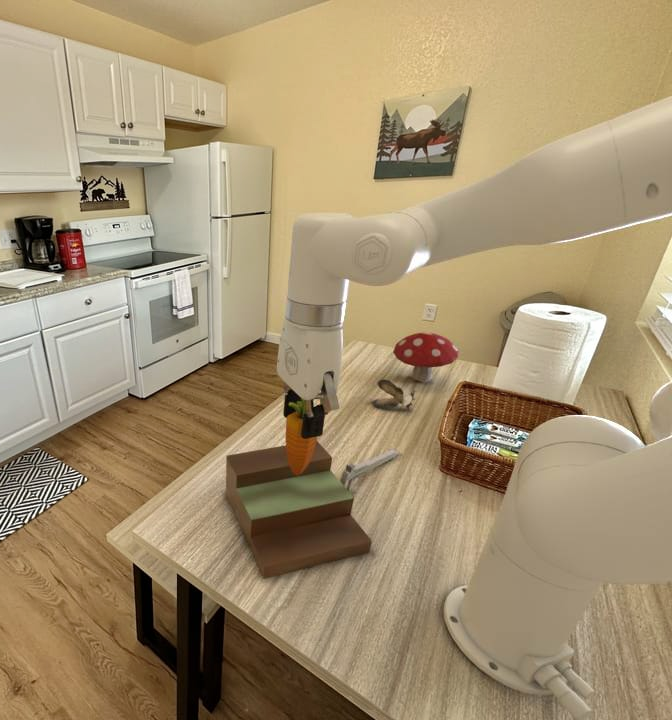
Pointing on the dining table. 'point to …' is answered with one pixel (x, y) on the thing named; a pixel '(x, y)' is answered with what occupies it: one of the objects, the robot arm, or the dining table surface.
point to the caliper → (364, 468)
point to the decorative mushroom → (425, 353)
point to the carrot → (298, 440)
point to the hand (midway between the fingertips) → (301, 424)
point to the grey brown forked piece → (395, 392)
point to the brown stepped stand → (292, 511)
